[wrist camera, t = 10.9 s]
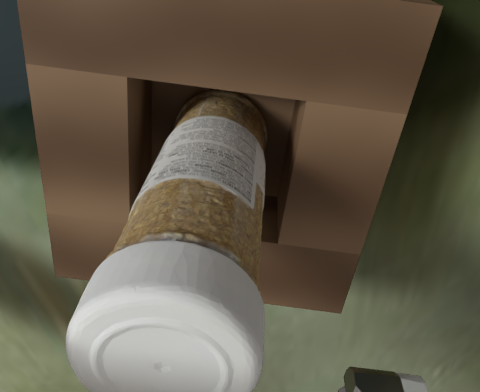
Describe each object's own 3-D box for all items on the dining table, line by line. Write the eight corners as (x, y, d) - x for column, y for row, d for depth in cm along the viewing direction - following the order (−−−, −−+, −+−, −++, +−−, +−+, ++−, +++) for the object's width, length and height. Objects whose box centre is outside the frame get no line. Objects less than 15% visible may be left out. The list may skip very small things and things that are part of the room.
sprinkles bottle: (240, 187, 23) (207, 450, 11) (159, 147, 22) (35, 390, 10) (286, 114, 21) (303, 350, 9) (198, 66, 20) (95, 261, 8)
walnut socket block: (70, -58, 18) (9, -52, 14) (403, -13, 18) (443, 6, 14) (91, 218, 26) (55, 275, 21) (329, 249, 26) (341, 313, 22)
